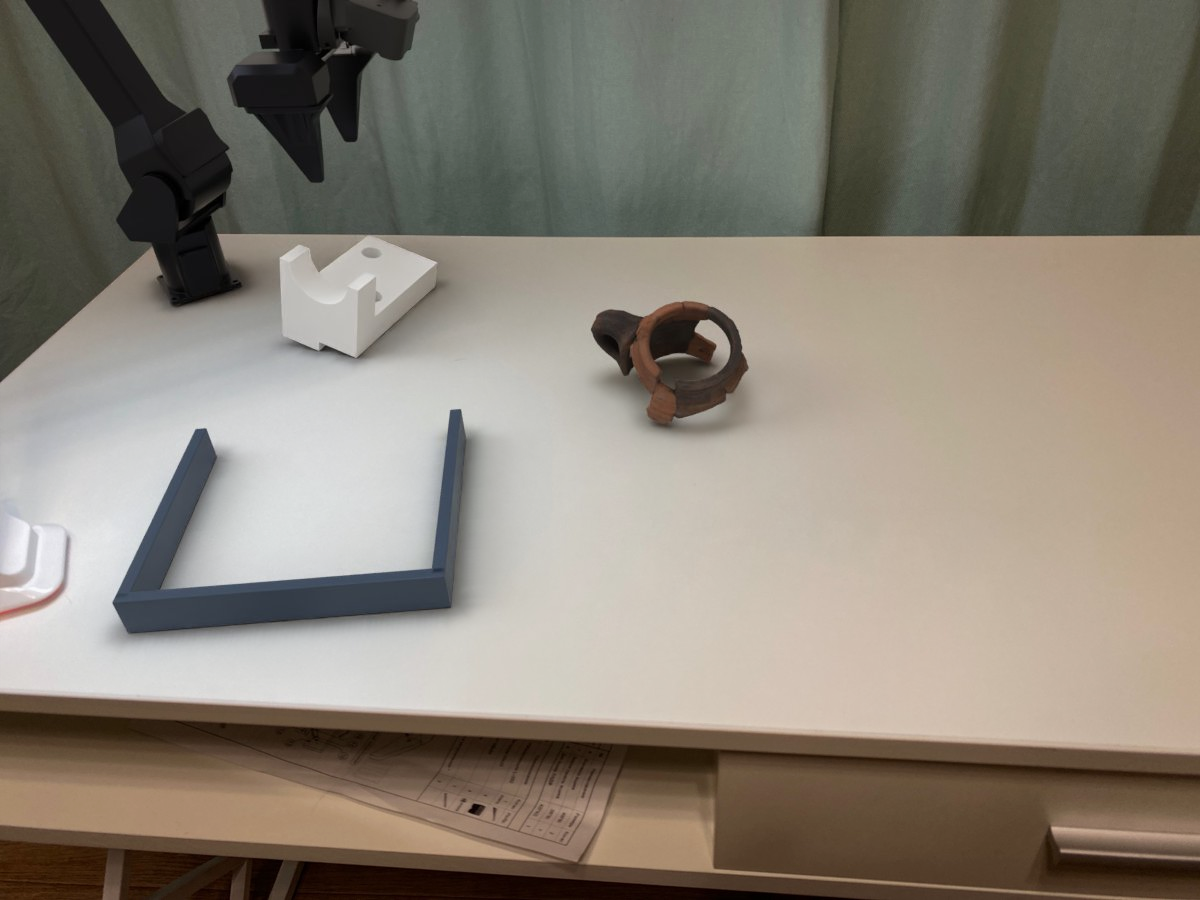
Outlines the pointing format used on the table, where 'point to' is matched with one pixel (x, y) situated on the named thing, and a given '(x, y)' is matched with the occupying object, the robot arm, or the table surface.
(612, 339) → the pottery mug
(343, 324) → the bracket
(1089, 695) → the table surface
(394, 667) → the table surface
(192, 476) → the open blue frame
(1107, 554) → the table surface
